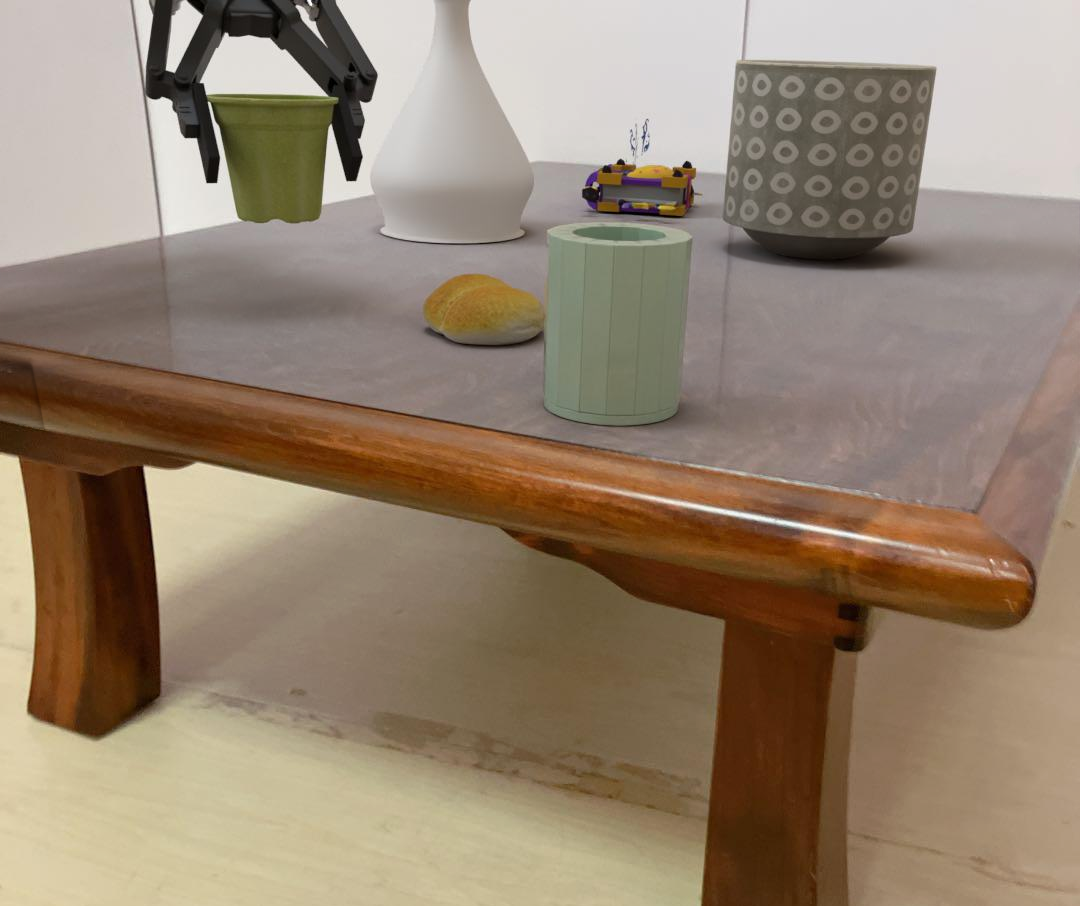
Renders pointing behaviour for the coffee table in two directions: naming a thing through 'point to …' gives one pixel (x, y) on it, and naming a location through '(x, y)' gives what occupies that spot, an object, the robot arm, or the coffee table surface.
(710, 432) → the coffee table surface
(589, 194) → the multicoloured boxy piece
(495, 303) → the bread roll
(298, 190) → the plant pot
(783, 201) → the planter
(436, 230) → the vase
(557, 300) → the cup
